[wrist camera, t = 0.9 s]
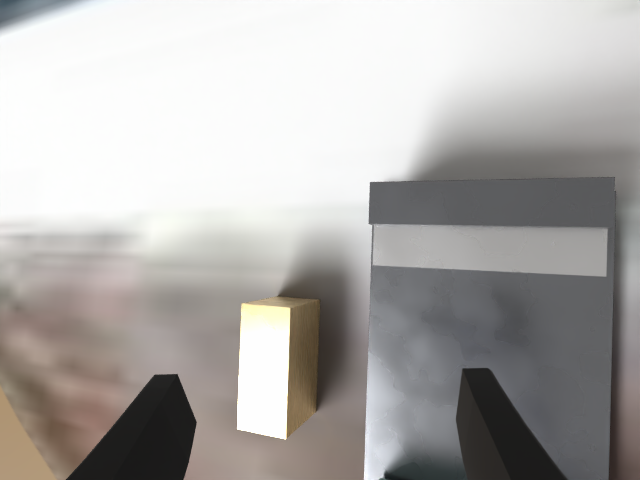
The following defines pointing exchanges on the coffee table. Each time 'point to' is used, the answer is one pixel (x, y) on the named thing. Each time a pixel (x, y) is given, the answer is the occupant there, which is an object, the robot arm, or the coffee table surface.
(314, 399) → the brass block
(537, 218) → the grey slab
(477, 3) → the coffee table surface
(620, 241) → the coffee table surface
